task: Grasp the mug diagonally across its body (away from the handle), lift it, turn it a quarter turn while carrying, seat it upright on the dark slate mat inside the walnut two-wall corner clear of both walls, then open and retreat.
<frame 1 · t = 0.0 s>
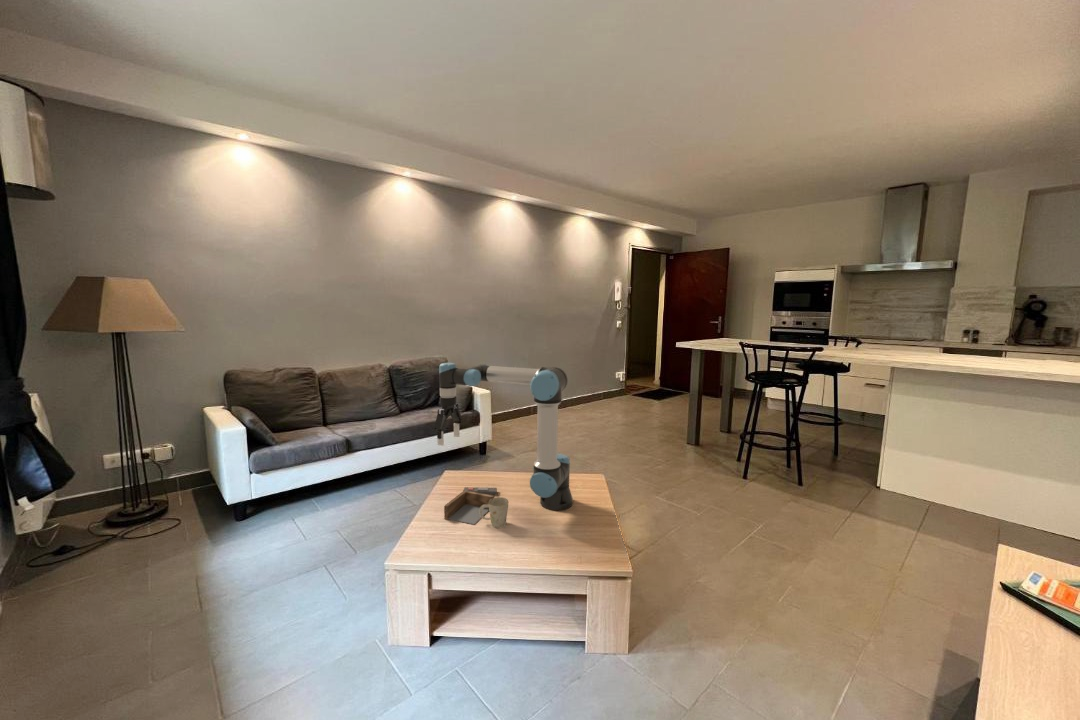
hand: (448, 440, 199), 28 cm above the table, fingers open, 13 cm apart
mat: (469, 514, 186), on the table
arena: (472, 514, 187), on the table
mug: (493, 524, 179), on the table
remote: (480, 493, 208), on the table
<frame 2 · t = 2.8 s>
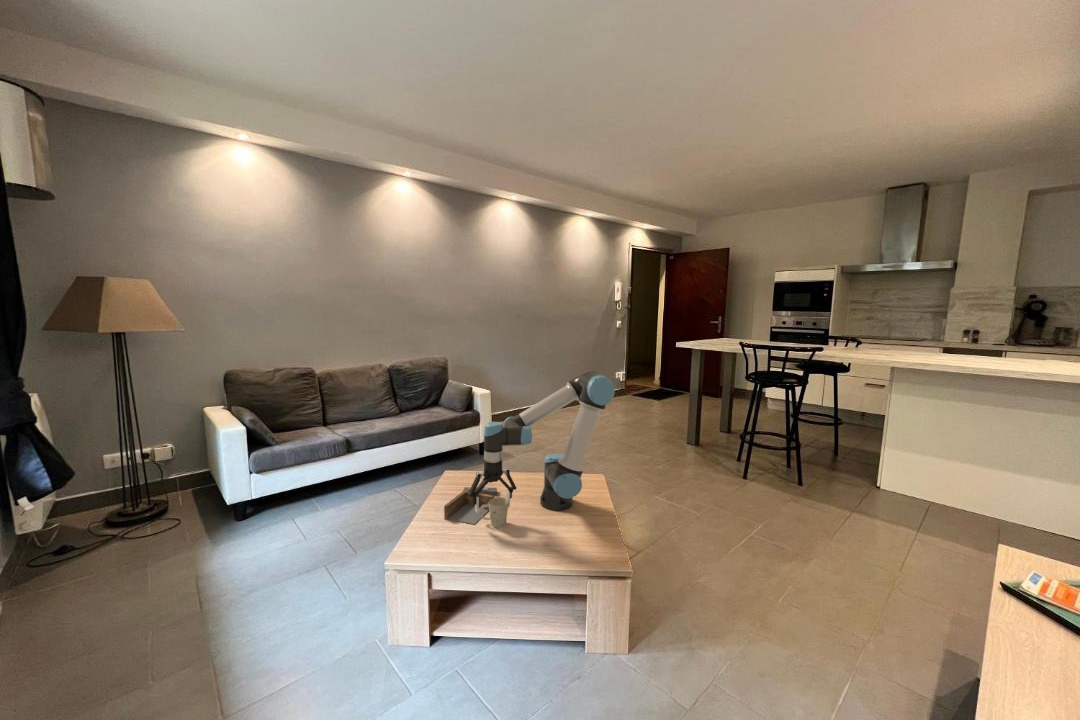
hand: (492, 508, 178), 7 cm above the table, fingers open, 13 cm apart
nothing on the table moved.
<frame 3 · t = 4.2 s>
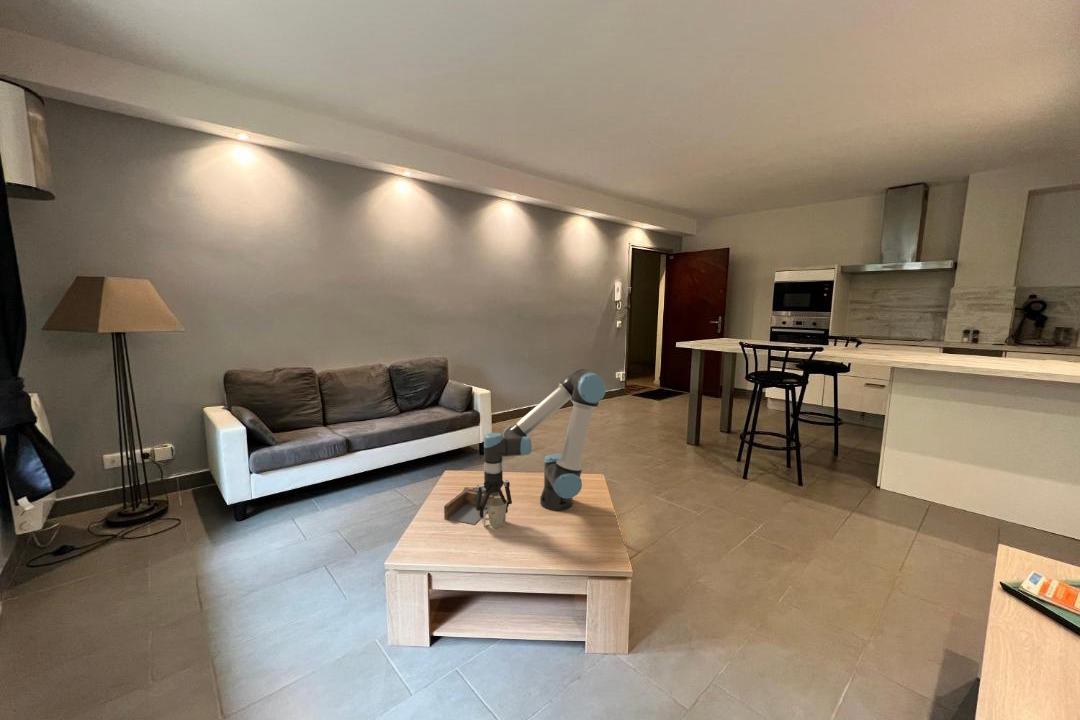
hand: (493, 522, 178), 1 cm above the table, fingers closed on mug, 8 cm apart
mug: (492, 524, 178), on the table, touching gripper
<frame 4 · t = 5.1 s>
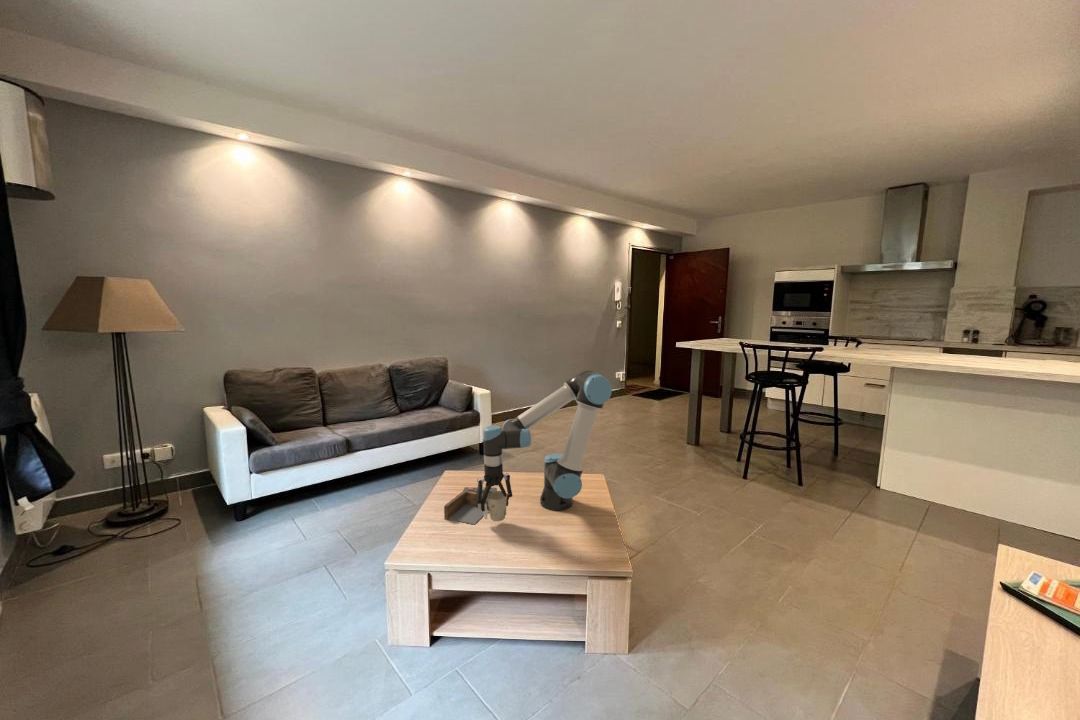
hand: (495, 515, 178), 4 cm above the table, fingers closed on mug, 8 cm apart
mug: (492, 518, 178), point 3 cm above the table, touching gripper
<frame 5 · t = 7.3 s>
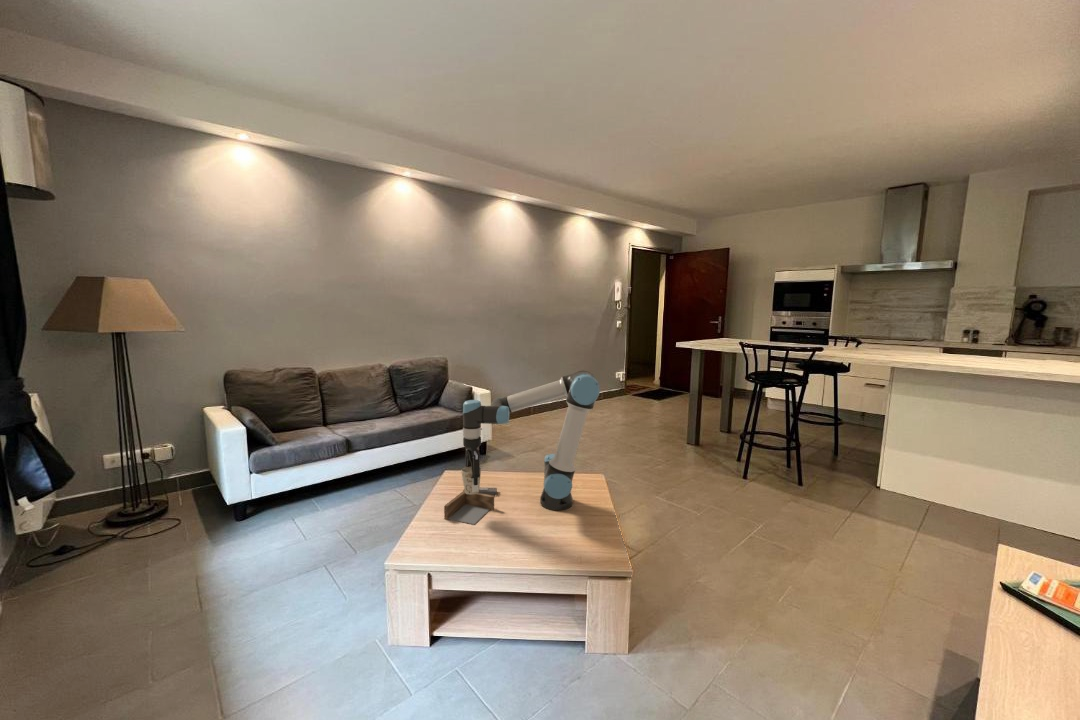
hand: (472, 487, 184), 13 cm above the table
mug: (473, 490, 185), point 11 cm above the table, touching gripper
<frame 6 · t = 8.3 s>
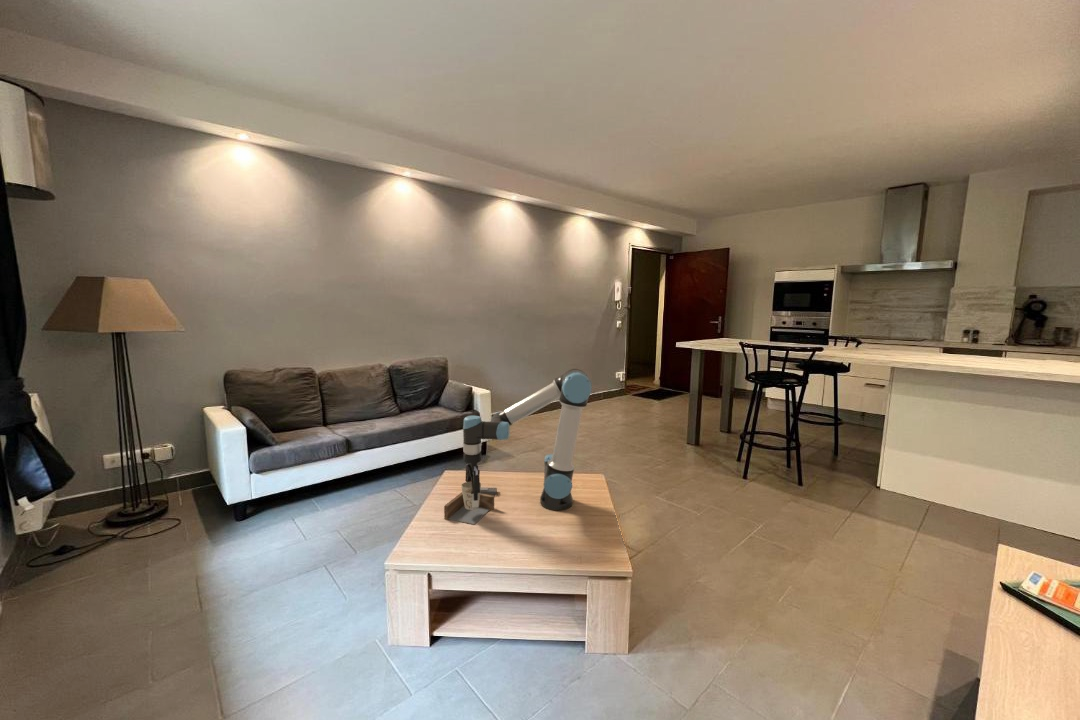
hand: (472, 502, 185), 6 cm above the table, fingers closed on mug, 7 cm apart
mug: (473, 505, 186), point 4 cm above the table, touching gripper
when the fingers open (2 cm above the table, at t = 9.0 s): mug stays where it is, resting on mat.
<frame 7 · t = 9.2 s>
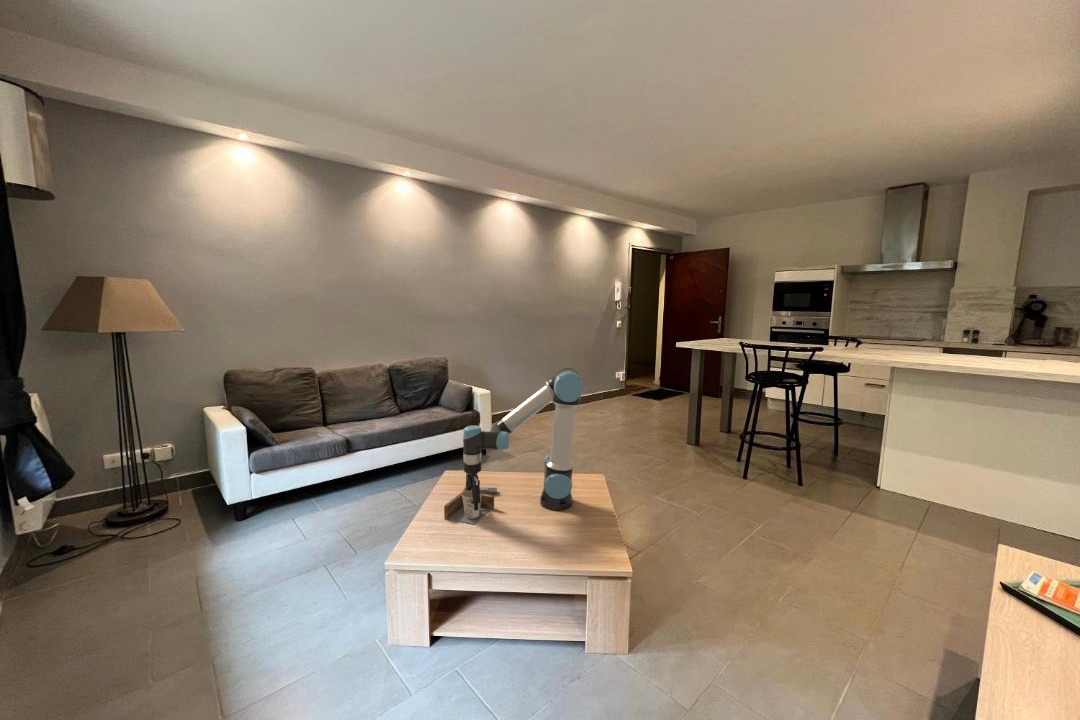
hand: (472, 512, 185), 2 cm above the table, fingers open, 7 cm apart
mug: (473, 514, 186), resting on mat, touching gripper
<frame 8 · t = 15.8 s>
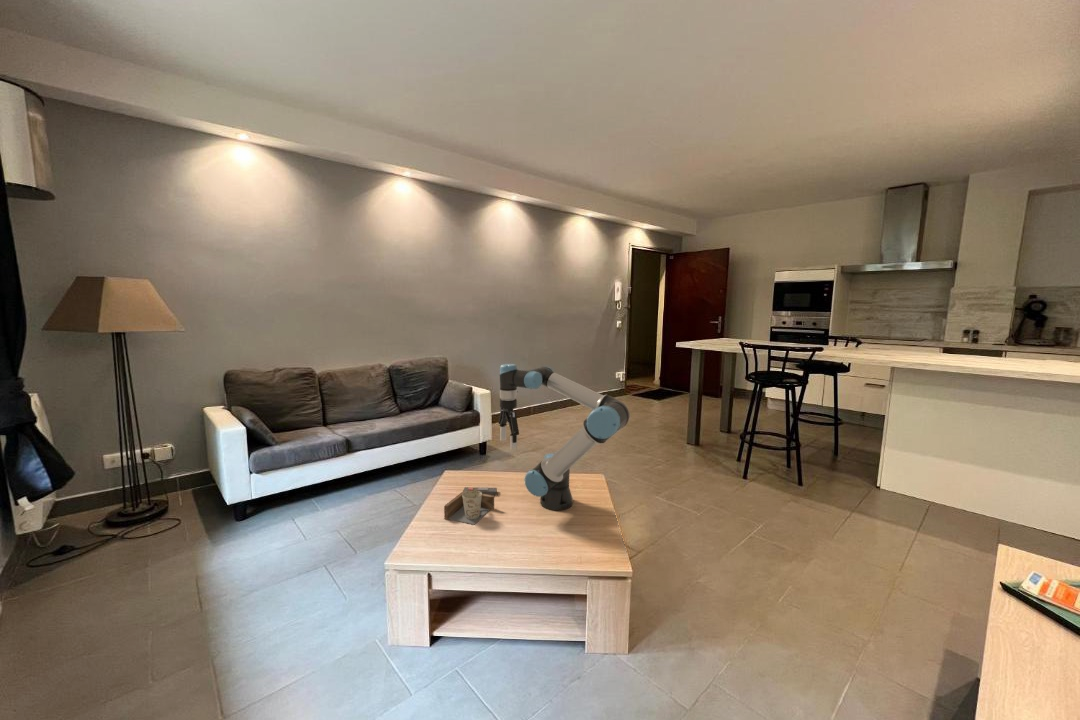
hand: (508, 444, 192), 29 cm above the table, fingers open, 13 cm apart
mug: (474, 514, 186), resting on mat
at the end: mug inside the target area (1.2 cm from its centre), resting on mat; mug tilted 0°; mug touching mat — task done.
